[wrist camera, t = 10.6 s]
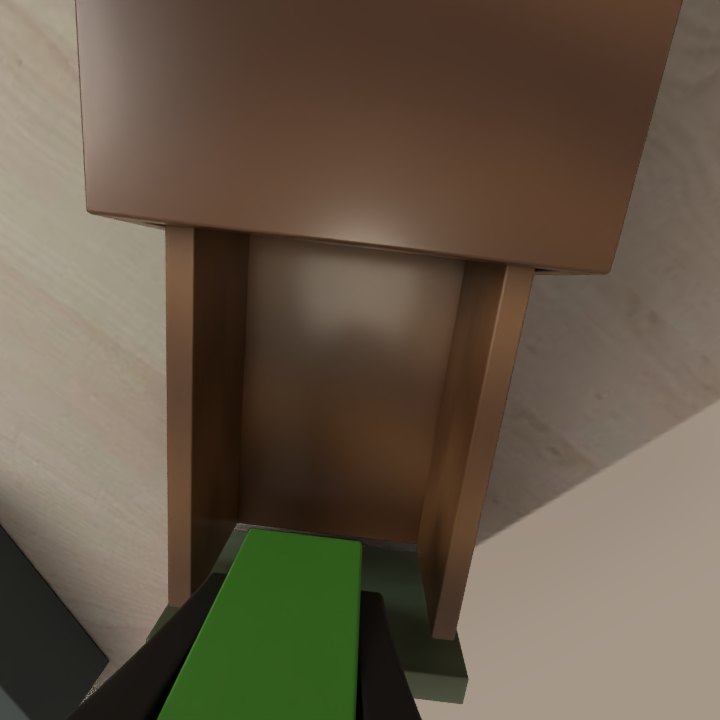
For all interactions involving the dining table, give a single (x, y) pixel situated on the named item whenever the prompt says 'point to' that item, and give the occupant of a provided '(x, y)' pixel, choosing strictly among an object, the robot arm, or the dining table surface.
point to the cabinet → (376, 121)
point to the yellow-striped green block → (277, 635)
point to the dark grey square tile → (39, 645)
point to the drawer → (338, 416)
